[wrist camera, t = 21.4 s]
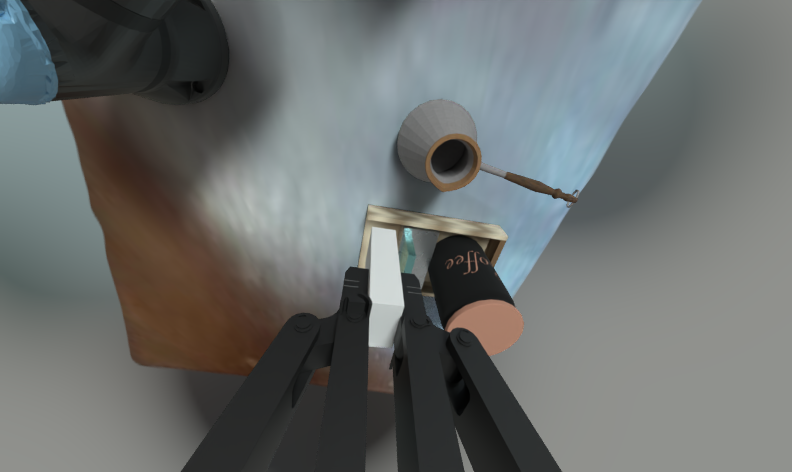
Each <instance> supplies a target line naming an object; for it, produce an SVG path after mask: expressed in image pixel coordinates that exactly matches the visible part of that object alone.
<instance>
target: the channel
mask: <svg viewBox="0 0 792 472" xmlns="http://www.w3.org/2000/svg"><path fill="white" fill-rule="evenodd" d="M401 225H407V226H413V227H420V228H426V229H433V230H439V233H440V234H439V237H438V240H437V243H438V242H439V241H440V240H442V239H444V238H446V237H449V236H456V235H461V236H467V237H469V238H471V239H473V240H475V241H477V243H478V244H479V245H480V246H481V247H482V249H483V251H484V252H485V254H486V256H487V257H488V259H489V261H490V262H491V264H492V266H493V267H494V266H495V264H496V262H497V260H498V257H499V255H500V253H501V251H502V249H503V247H504V245H505V243H506V240H507V238H508V236H507V235H506V233H505V232H504V231H503V230H502V228H501V227H500V226H499V225H493V224H486V223H480V222H474V221H468V220H462V219H455V218H449V217H443V216H437V215H431V214H425V213H418V212H412V211H406V210H400V209H394V208H387V207H381V206H375V205H369V204H368V210H367V216H366V222H365V228H364V234H363V240H362V246H361V252H360V258H359V264H358V268H365V262H366V256H367V251H368V245H369V240H370V234H371V229H372V227H378V228H384V229H391V230H396V238H397V241H398V236H399V232H400V228H401ZM421 292H422V296H430V297H434V293H433V289H432V285H431V281H430V277H429V273H428V271H427V274H426V277H425V280H424V283H423V286H422V289H421Z"/></svg>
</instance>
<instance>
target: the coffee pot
mask: <svg viewBox="0 0 792 472" xmlns="http://www.w3.org/2000/svg"><path fill="white" fill-rule="evenodd" d="M397 147H398V155H399V157H400V160H401V163H402V164H403V166H404V167H405V168H406V170H407V171H408V172H409V173H410V174H412V175H413V176H414V177H415V178H418V179H420V180H423V181H426V182H431V183H432V184H433V185H434V186H435V187H436V188H438V189H439V190H440V191H442V192H446V191H452V190H457V189H459V188H462V187H464V186H466V185H467V184H469V183H470V182H471V181H472V180H473V179H474V178H475V177H476V175H477V173H478V172H479V170H482V171H485V172H488V173H491V174H494V175H497V176H500V177H503V178H504V179H506V180H509V181H511V182H513V183H516V184H518V185H520V186H523V187H525V188H527V189H530V190H532V191H535V192H540V193H544V194H548V195H552V197H553V198H554V199H556V198H561V199H563V200H565V201H567V202H568V203H567V207H568V208H570V207H571V206H572V205H573V204H574V203H576V202H577V200H578V198H577V197H578V195H579V190H576V191H575V192H573V194H572V195H571V194H565V193H562V191H561V189H553V188H551V187H549V186H547V185H545V184H543V183H542V182H540V181H536V180H533V179H530V178H526V177H523V176H520V175H516V174H513V173H510V172H505V171H502V170H500V169H497V168H495V167H492V166H489V165H487V164H484V163H482V162H481V157H482V156H481V151H480V148H479V146H478V144H477V131H476V127H475V123H474V121H473V119H472V117H471V115H470V114H469V112H468V111H466V110H465V109H464V108H463V107H462V106H461V105H459V104H457V103H455V102H453V101H449V100H443V99H439V100H431V101H428V102H426V103H423V104H421V105H419V106H418V107H417V108H415V109H414V110H413V111H412V112H410V113H409V115H408V116H407V117H406V119H405V120H404V121H403V123H402V126H401V128H400V131H399V134H398V141H397ZM576 192H577V195H576V197H574V196H573V195H574V194H575V193H576ZM569 202H572V203H571V205H569Z"/></svg>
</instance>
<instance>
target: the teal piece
mask: <svg viewBox="0 0 792 472" xmlns="http://www.w3.org/2000/svg"><path fill="white" fill-rule="evenodd" d="M439 234H440V233H439V230H433V229H426V228H420V227H413V226H407V225H401V228H400V232H399V236H398V241H397V247H398V255H399V264H400V272H401V273H409V274H415V276H416V277H417V278H418V280H419V282H420V287H421V289H422V286H423V283H424V280H425V277H426V274H427V271H428V268H429V264H430V261H431V258H432V255H433V252H434V249H435V246H436V243H437V240H438V237H439Z"/></svg>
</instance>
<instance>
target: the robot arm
mask: <svg viewBox="0 0 792 472" xmlns="http://www.w3.org/2000/svg"><path fill="white" fill-rule="evenodd" d="M228 63H229V49H228V42H227V37H226V33H225V30H224V27H223V24H222V21H221V19H220V17H219V14H218V12H217V10H216V9H215V7H214V5H213V3H212V2H211V0H0V104H28V105H39V104H45V103H46V102H50V101H58V100H68V99H78V98H88V97H99V96H109V95H119V94H129V93H132V94H135V95H138V96H141V97H144V98H147V99H150V100H153V101H157V102H160V103H165V104H175V105H181V104H189V103H195V102H199V101H202V100H204V99H207V98H208V97H210V96H211V95H213V94H214V93H215V92H216V91H217V90H218V89H219V88H220V86H221V85H222V83H223V81H224V79H225V76H226V73H227V70H228ZM393 343H394V348H395V350H394V353H393V357H392V360H391V363H390V368H389V369H392V366H393V381H394V401H395V422H396V441H397V462H398V472H465V471H464V467H463V462H462V458H461V453H460V449H459V444H458V439H457V434H456V430H457V432H458V434H459V437H460V439H461V442H462V444H463V446H464V449H465V451H466V453H467V456H468V458H469V460H470V463H471V465H472V468H473V470H474V472H562V471H561V469H560V468H559V466H558V465H557V463H556V461H555V460H554V458H553V457H552V455H551V454H550V452H549V450H548V449H547V447H546V446H545V444H544V442H543V441H542V439H541V438H540V436H539V435H538V433H537V432H536V430H535V428H534V427H533V425H532V424H531V422H530V420H529V419H528V417H527V416H526V414H525V412H524V411H523V409H522V408H521V406H520V405H519V403H518V401H517V400H516V398H515V397H514V395H513V393H512V392H511V390H510V389H509V387H508V386H507V384H506V382H505V381H504V379H503V378H502V376H501V375H500V373H499V371H498V370H497V368H496V367H495V365H494V363H493V362H492V360H491V359H490V357H489V356H488V354H487V352H486V351H485V349H484V348H483V346H482V344H481V343H480V341H479V340H478V338H477V337H476V336H475V335H474V333H472V332H471V331H469V330H468V329H465V328H459V327H457V328H454V329H453V330H452V331H451V332H448V331H445V330H442V329H440V328H438V327H436V326H434V325H433V324H432V321H431V319H430V318H429V317H428V316H427V315H426V312H425V307H424V302H423V297H422V292H421V287H420V282H419V280H418V278H417V277H416V276H415V274H409V273H401V272H400V264H399V255H398V247H397V238H396V230H391V229H384V228H378V227H372V229H371V234H370V240H369V245H368V251H367V256H366V262H365V268H357V267H350V268H349V269H348V270H347V271H346V272H345V279H344V285H343V291H342V298H341V301H340V308H339V310H338V311H337V313H335V314H334V315H333V316H330V317H328V318H323V319H318V318H317V317H316V316H315V315H312V314H310V313H299V314H296V315H294V316H292V317H291V318H290V319H289V320H288V321H287V322H286V323H285V325H284V326H283V328H282V329H281V331H280V332H279V333H278V335H277V336H276V338H275V339H274V340H273V342H272V343H271V345H270V346H269V348H268V349H267V350H266V352H265V353H264V355H263V356H262V357H261V359H260V360H259V362H258V363H257V365H256V366H255V367H254V369H253V370H252V372H251V373H250V374H249V376H248V377H247V379H246V380H245V382H244V383H243V385H242V386H241V387H240V389H239V390H238V391H237V393H236V394H235V396H234V397H233V399H232V400H231V401H230V403H229V404H228V406H227V407H226V408H225V410H224V411H223V413H222V414H221V416H220V417H219V419H218V420H217V421H216V423H215V424H214V425H213V427H212V428H211V430H210V431H209V433H208V434H207V435H206V437H205V438H204V440H203V441H202V442H201V444H200V445H199V447H198V448H197V449H196V451H195V452H194V454H193V455H192V457H191V458H190V460H189V461H188V462H187V464H186V465H185V466H184V468H183V469H182V471H181V472H266V471H267V469H268V467H269V465H270V463H271V461H272V459H273V457H274V455H275V453H276V451H277V448H278V446H279V444H280V442H281V440H282V438H283V436H284V434H285V432H286V430H287V428H288V426H289V424H290V422H291V419H292V417H293V415H294V413H295V411H296V409H297V407H298V405H299V403H300V401H301V399H302V397H303V395H304V393H305V390H306V388H307V386H308V384H309V382H310V380H311V378H312V376H313V374H314V372H315V369H319V368H323V367H327V366H331V367H330V374H329V380H328V387H327V393H326V400H325V407H324V413H323V420H322V426H321V432H320V439H319V445H318V451H317V458H316V464H315V471H314V472H365V457H366V455H365V454H366V419H367V417H366V416H367V385H368V350H369V346H372V347H383V348H392V346H393ZM455 428H456V430H455Z"/></svg>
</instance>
